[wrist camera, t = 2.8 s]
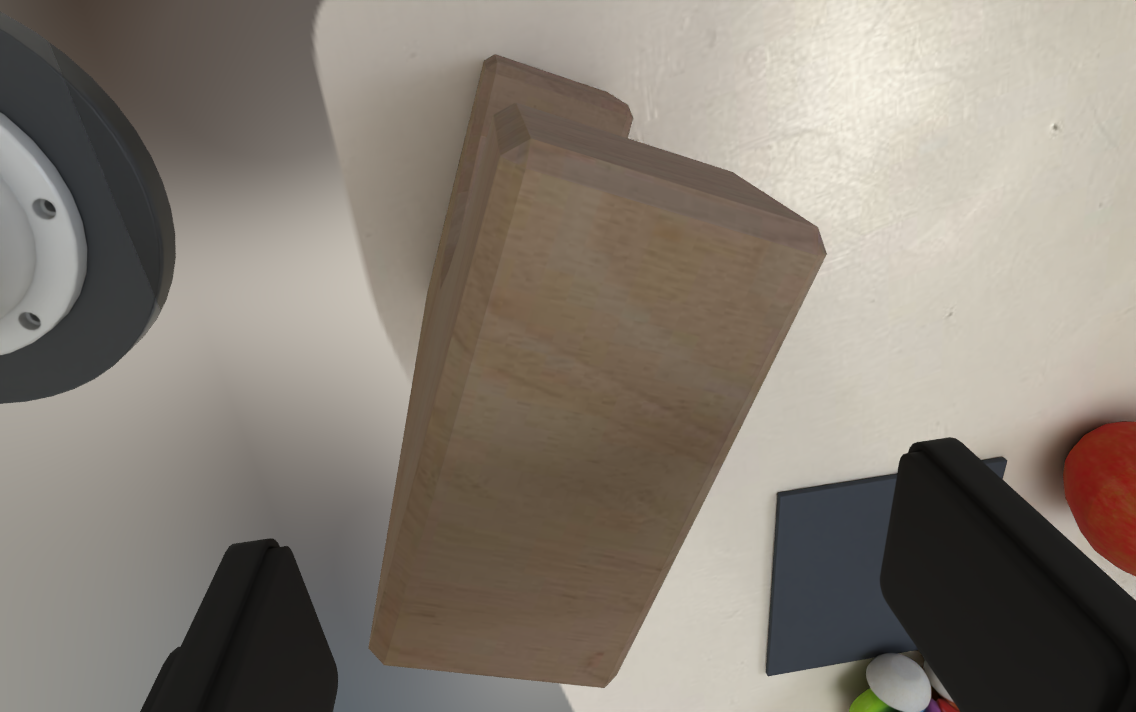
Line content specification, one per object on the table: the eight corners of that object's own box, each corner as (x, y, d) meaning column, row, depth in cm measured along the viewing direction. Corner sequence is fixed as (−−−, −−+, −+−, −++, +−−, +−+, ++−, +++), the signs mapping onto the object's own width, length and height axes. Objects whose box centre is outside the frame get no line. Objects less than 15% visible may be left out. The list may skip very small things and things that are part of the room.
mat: (765, 671, 47) (767, 676, 46) (777, 492, 39) (780, 496, 39) (956, 638, 48) (959, 642, 47) (1003, 456, 40) (1007, 460, 40)
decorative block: (486, 48, 27) (510, 127, 9) (618, 95, 28) (859, 244, 10) (421, 296, 31) (351, 673, 14) (537, 326, 33) (612, 702, 15)
